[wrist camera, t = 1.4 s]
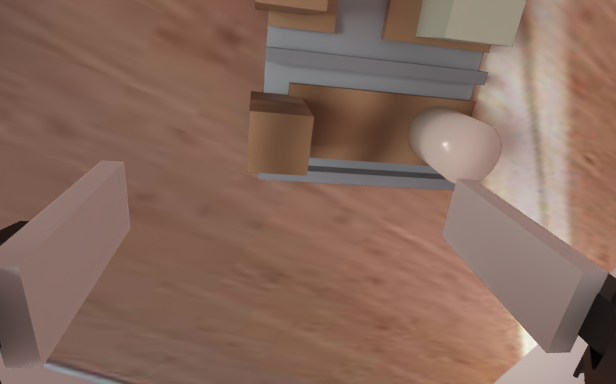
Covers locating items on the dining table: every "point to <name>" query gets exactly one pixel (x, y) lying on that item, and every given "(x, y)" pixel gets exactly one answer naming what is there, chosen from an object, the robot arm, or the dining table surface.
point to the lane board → (365, 70)
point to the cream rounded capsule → (454, 143)
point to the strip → (334, 126)
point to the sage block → (471, 21)
